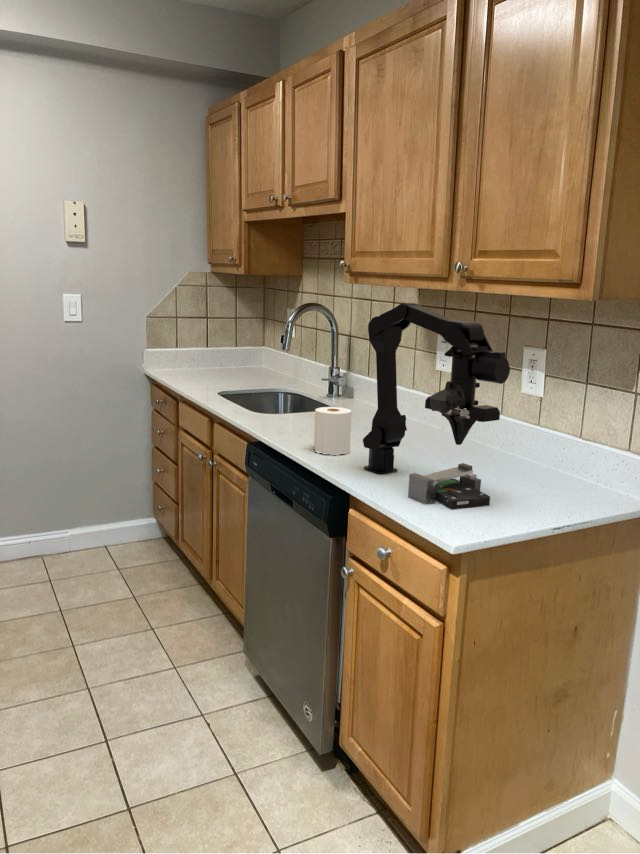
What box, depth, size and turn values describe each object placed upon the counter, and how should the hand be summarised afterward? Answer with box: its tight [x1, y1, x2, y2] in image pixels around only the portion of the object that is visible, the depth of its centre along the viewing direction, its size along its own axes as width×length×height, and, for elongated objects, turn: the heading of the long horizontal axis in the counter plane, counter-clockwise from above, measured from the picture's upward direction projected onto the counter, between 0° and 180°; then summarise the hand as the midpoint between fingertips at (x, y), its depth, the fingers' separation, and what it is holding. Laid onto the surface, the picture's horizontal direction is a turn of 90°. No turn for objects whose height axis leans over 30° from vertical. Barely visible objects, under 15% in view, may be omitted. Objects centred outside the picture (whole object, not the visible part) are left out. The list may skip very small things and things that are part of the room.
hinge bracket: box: [407, 472, 438, 505], centre depth 161 cm, size 7×3×6 cm, turn 34°
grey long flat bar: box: [422, 462, 474, 482], centre depth 165 cm, size 4×13×2 cm, turn 124°
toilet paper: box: [313, 406, 353, 456], centre depth 201 cm, size 10×10×12 cm
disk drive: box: [436, 478, 491, 511], centre depth 164 cm, size 10×3×15 cm
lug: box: [459, 472, 482, 491], centre depth 170 cm, size 5×2×4 cm, turn 34°
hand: (458, 444), depth 165 cm, fingers closed
